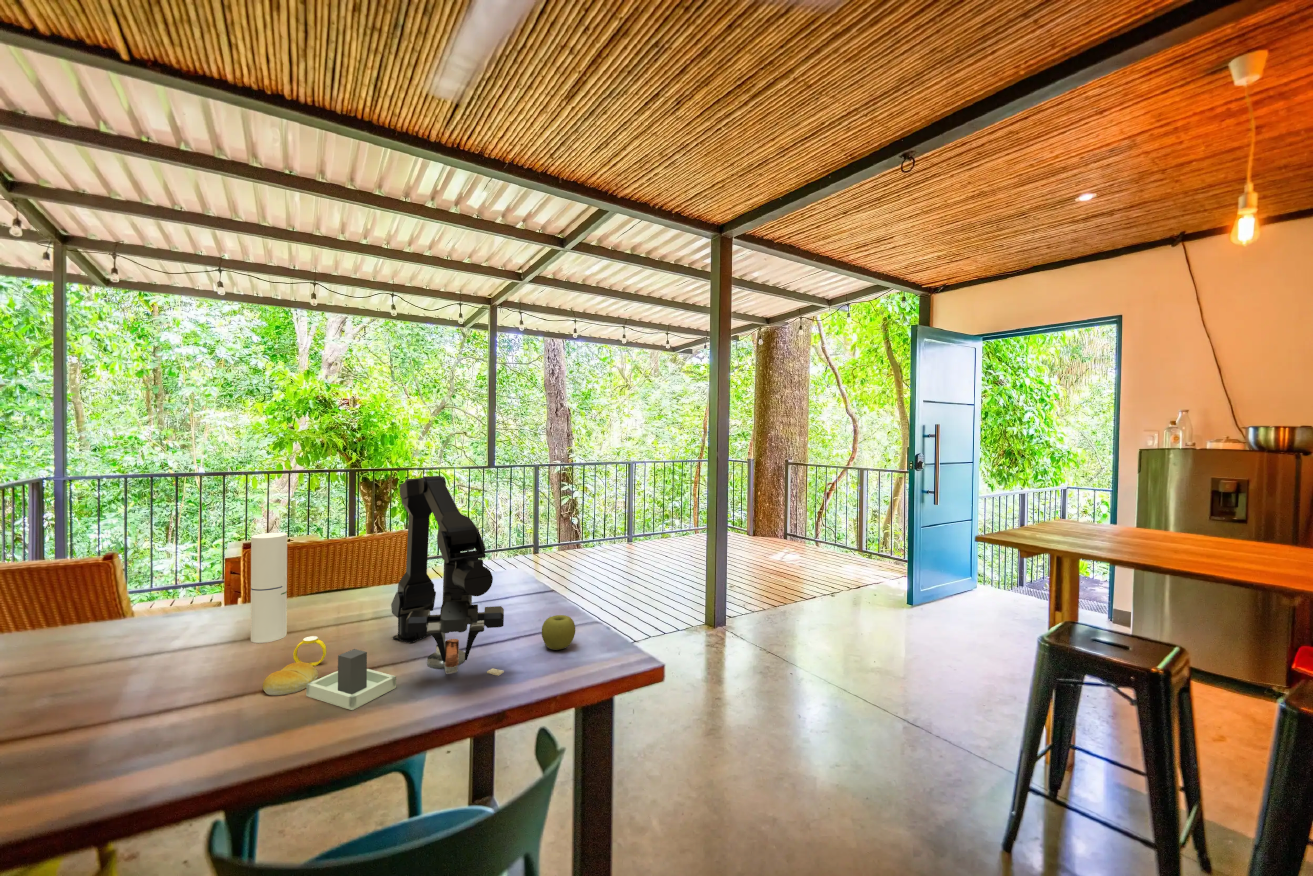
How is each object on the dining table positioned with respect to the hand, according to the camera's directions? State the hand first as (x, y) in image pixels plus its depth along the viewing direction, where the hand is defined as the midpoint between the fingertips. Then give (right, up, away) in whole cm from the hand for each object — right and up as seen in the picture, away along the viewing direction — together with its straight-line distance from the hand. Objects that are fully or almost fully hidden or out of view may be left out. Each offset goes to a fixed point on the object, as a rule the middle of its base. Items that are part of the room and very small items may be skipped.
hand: (455, 660), depth 112 cm
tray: (-18, -4, -6) cm, 19 cm away
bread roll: (-32, -4, -4) cm, 32 cm away
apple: (+18, -4, +17) cm, 25 cm away
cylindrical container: (-53, -3, +21) cm, 57 cm away
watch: (-34, -4, +6) cm, 34 cm away
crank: (-3, -2, +4) cm, 6 cm away
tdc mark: (+7, -4, +3) cm, 9 cm away
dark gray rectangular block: (-18, -3, -6) cm, 19 cm away
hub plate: (-5, -4, +9) cm, 11 cm away
